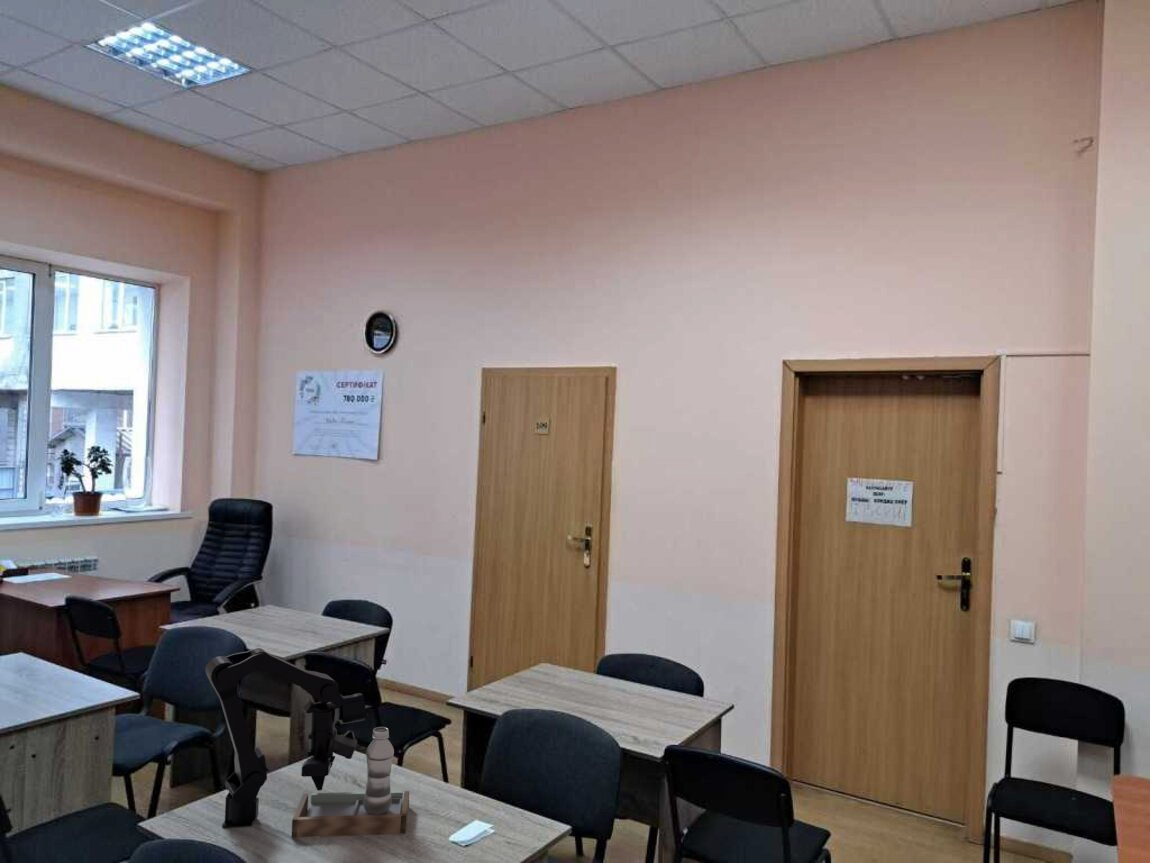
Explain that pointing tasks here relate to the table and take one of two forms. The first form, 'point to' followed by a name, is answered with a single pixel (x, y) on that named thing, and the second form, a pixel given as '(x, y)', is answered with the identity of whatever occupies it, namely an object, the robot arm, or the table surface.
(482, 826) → the table surface
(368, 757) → the plastic bottle
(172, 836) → the table surface
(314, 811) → the tray
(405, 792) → the dock
